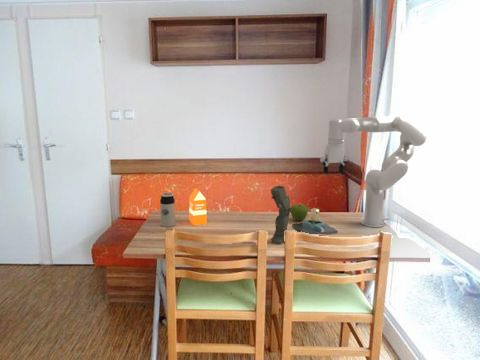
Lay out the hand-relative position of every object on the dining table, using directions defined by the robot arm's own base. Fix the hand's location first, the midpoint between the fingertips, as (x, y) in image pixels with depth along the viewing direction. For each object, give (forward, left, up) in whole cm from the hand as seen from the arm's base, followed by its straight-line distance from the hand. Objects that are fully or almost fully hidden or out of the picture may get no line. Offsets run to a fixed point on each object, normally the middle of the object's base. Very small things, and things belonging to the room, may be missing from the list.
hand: (333, 172), depth 200 cm
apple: (+13, -14, -31) cm, 36 cm away
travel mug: (+88, -29, -31) cm, 98 cm away
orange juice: (+71, -28, -31) cm, 82 cm away
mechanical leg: (+38, +14, -31) cm, 51 cm away
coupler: (+13, +4, -29) cm, 32 cm away
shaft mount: (+13, +4, -30) cm, 33 cm away
